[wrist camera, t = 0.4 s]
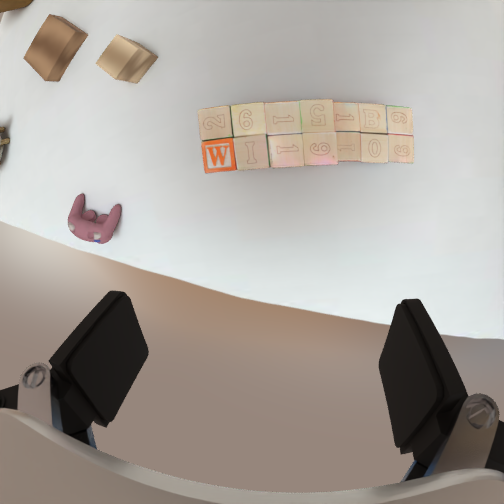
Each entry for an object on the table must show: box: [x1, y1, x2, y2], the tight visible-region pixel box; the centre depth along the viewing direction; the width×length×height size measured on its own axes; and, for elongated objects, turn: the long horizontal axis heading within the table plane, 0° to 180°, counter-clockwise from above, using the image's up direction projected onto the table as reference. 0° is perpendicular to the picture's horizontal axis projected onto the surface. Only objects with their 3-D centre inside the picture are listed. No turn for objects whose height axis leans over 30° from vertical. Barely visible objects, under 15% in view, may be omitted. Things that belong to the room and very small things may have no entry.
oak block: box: [96, 35, 158, 83], centre depth 27 cm, size 5×5×6 cm
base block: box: [24, 14, 88, 81], centre depth 27 cm, size 10×12×4 cm
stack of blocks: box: [198, 99, 414, 173], centre depth 27 cm, size 21×6×12 cm, turn 95°
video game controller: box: [68, 194, 121, 244], centre depth 39 cm, size 10×5×7 cm, turn 75°
